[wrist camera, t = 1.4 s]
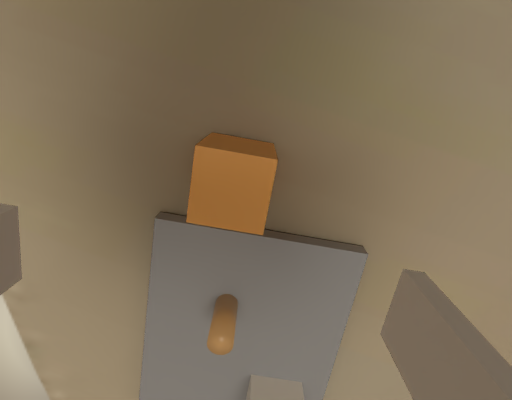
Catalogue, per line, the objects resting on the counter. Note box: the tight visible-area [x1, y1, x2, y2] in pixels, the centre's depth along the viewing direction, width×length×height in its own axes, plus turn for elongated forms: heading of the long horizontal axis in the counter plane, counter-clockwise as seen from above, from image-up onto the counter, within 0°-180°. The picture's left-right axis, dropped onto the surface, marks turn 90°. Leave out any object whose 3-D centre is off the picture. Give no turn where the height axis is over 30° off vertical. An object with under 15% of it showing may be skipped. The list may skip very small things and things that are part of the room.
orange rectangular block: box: [186, 132, 278, 235], centre depth 24 cm, size 5×5×7 cm
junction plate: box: [139, 212, 368, 400], centre depth 28 cm, size 22×18×8 cm
